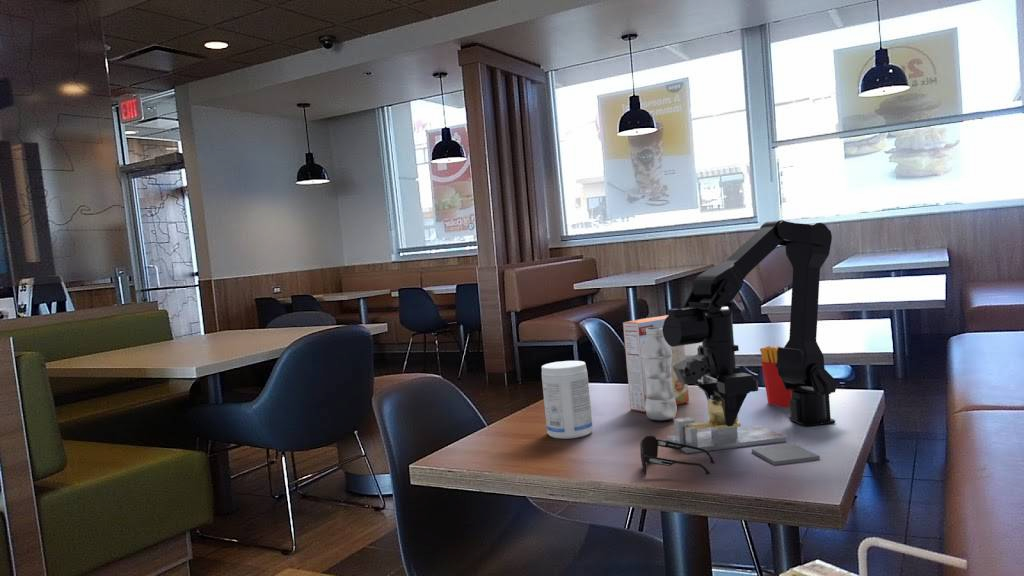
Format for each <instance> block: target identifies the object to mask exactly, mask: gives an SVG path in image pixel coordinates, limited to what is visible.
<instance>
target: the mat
mask: <svg viewBox="0 0 1024 576" xmlns="http://www.w3.org/2000/svg"><path fill="white" fill-rule="evenodd" d="M751 453H752V454H753V455H756V456H757V457H759V458H761V459H763V460H765V461H766V462H769V463H770V464H772V465H773V466H778V465H779V466H780V465H785V464H786V465H787V464H793V463H794V464H795V463H803V462H811V461H819V460H821V456H820V455H818V454H817V453H814V452H813V451H810V450H808V449H807V448H804V447H802V446H800V445H798V444H796V443H792V444H784V445H776V446H768V447H767V446H766V447H760V448H751Z"/></svg>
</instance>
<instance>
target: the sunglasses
mask: <svg viewBox="0 0 1024 576" xmlns="http://www.w3.org/2000/svg"><path fill="white" fill-rule="evenodd" d="M639 447H640V459H641V460H640V461H641V464H642V465H641V466H642V470H643V473H644V474H645V473H647V470H648V469H647V464H655V465H660V466H666V467H670V466H673V465H674V464H680V465H685V466H686V465H687V466H697V467H699V468H702V469H703V470H704V472H705V475H711V472H710V470H708V469H707V468H706V467H705V466H704V465H703V464H701V463H698V462H697V463H696V462H686V461H680V460H674V459H669V458H664V457H658V453H659V452H658V451H659V447H662V448H668V449H672V450H676V451H680V450H681V449H682V448H684V447H687V448H692V449H697V450H700V451H702V452H703V453H704V454H706V455H707V456H708V458H709V460H710V464H711V465H712V464H713V465H714V464H715V461H714V459H713V457H712V455H711V454H710V452H709V451H706V450H704V449H701V448H698V447H694V446H689V445H684V444H679V443H674V442H669V441H668V440H663V439H658V438H656V436H653V435H644V436H643V437H641V439H640V441H639Z"/></svg>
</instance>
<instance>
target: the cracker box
mask: <svg viewBox="0 0 1024 576" xmlns="http://www.w3.org/2000/svg"><path fill="white" fill-rule="evenodd" d="M668 316H669V315H668V314H665V315H661V316H653V317H652V316H651V317H646V318H640V319H639V318H638V319H633V320H629V321H624V322H622V327H623V338H624V351H625V361H626V372H627V380H628V381H627V384H628V393H629V394H628V395H629V404H630V405H629V407H630V410H631V411H637V412H642V413H646V410H645V402H646V377H645V371H644V366H643V362H642V357H641V350H642V348H643V346H644V344H645V343H646V341H647V339H648V337H646V328H651V327H663V325H664V321H665V319H666V318H667V317H668ZM663 338H664V336H663ZM664 340H665V338H664ZM667 344H668V343H667ZM668 345H669V344H668ZM669 346H670V345H669ZM670 348H671V351H672V362H671V381H672V388H673V394H674V398H675V401H676V406H677V405H678V406H679V405H682V404H686V403H689V402H690V398H689V384H684V383H683V382H679V380H678V378H677V376H676V373H675V371H674V369H673V366H674V365H675V364H677V363H679V362H681V361H683V360H685V359H686V352H685V351H686V349H685V345H682V346H675V347H672V346H670Z"/></svg>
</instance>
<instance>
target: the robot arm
mask: <svg viewBox="0 0 1024 576" xmlns="http://www.w3.org/2000/svg"><path fill="white" fill-rule="evenodd" d="M832 235H833V234H832V230H831V229H829V228H828V226H827V225H826V224H824V223H822V222H814V223H813V222H812V223H799V222H791V221H788V220H787V221H786V220H784V219H781V220H770V221H766V222H764V223H763V224H762V225H761V226H760V228H759V229H758V230H757V231H756V232H755V233H754V234H753V235H752V236H751V237H750V238H749V239H748V240H746V241H745V242H744V243H743V244H742V245H741V246H740V247H739V248H738V249H737V250H736V251H734V252H733V253H732V255H730V256H729V257H728V258H727V259H725V260H724V261H723V262H721V263H719V264H717V265H714V266H712V267H710V268H708V269H706V270H705V271H704V272H701V273H700V274H698V275H697V276H696V277H695V278H694V280H693V282H692V285H693V286H692V289H691V290H690V292H689V295H688V296H687V298H686V301H685V303H683V307H682V308H668V310H667V311H668V314H667V315H669V316H668V317H667V318H666V319H665V321H664V325H663V327H662V331H663V336H664V338H665V341H666V342H667V343H668V344H669V345H670V346H672V347H675V346H682V345H684V346H687V345H688V346H689V345H694V344H700V343H701V345H698V347H697V349H696V351H697V354H695V355H692V356H690V357H688V358H685V360H683V361H681V362H679V363H677V364H675V365H674V366H673V369H674V371H675V373H676V376H677V378H678V380H679V382H683V383H684V384H688V385H690V384H693V383H694V385H695V386H697V387H698V388H699V389H701V390H702V392H704V394H705V398H706V400H707V401H708V398H709V397H710V395H715V394H716V395H717V396H719V397H720V398H721V401H722V406H723V411H724V416H725V421H726V425H727V426H733V425H734V422H735V420H736V418H737V415H739V412H740V410H741V408H742V406H743V404H744V402H745V399H746V398H747V396H748V395H749V394H750V393H751V392H752V393H753V392H754V393H755V392H758V391H759V380H758V379H757V378H756V377H755V376H754V375H752V374H749V373H746V372H741V367H738V366H736V354H735V353H736V352H738V351H739V345H738V344H735V339H734V338H735V337H734V325H733V315H739V314H740V315H741V314H742V309H741V308H740V307H739V306H736V305H735V304H734V302H733V301H734V300H735V298H736V297H737V295H738V294H739V293H740V291H741V290H742V288H743V286H744V280H745V279H746V277H747V276H748V275H749V274H750V273H751V272H752V271H754V270H755V268H756V267H757V266H759V264H761V262H763V261H764V260H765V259H766V258H767V257H768V256H769V255H770V254H771V253H772V252H773V251H774V250H775V249H776V248H777V247H779V246H781V247H785V254H786V257H787V259H788V261H789V263H790V265H791V266H792V280H791V281H792V285H791V299H790V300H791V302H790V303H791V304H790V322H789V336H788V337H789V338H788V341H787V342H786V344H785V345H784V346H783V348H781V347H782V346H778V347H779V348H778V350H777V364H776V368H778V374H779V376H780V377H781V378H782V381H783V384H784V386H785V389H786V390H794V391H791V392H792V399H790V407H789V409H790V416H788V417H789V418H788V420H790V421H792V422H794V423H797V424H800V425H801V426H804V427H810V426H818V425H826V424H827V425H828V424H835V423H836V419H833V418H832V417H831V405H830V395H831V394H833V393H836V389H837V384H838V382H837V380H836V379H835V378H834V377H833V376H832V375H831V373H830V372H828V371H827V370H826V368H825V357H824V354H823V352H822V350H821V348H820V345H819V344H818V342H817V336H818V335H817V333H818V316H819V315H818V312H819V311H818V310H819V294H820V279H821V278H820V276H821V275H820V274H821V273H820V272H821V268H822V266H823V265H824V263H825V262H826V260H827V258H828V257H829V256H830V251H831V245H832V240H833V237H832Z"/></svg>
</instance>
